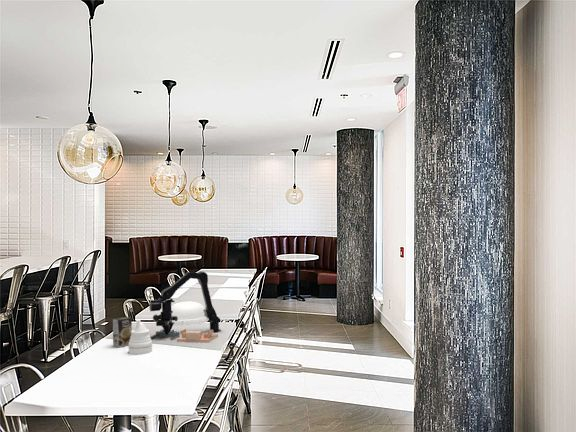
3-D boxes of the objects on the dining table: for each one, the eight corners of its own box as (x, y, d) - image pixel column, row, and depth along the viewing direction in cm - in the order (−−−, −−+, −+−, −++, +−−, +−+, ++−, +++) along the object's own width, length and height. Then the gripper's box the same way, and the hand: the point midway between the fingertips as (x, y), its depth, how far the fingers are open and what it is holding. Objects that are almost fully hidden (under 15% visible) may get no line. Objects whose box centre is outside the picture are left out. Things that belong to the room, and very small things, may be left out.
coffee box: (119, 347, 323) (118, 320, 323) (112, 346, 327) (112, 319, 327) (132, 344, 330) (131, 317, 330) (125, 343, 334) (125, 316, 334)
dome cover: (204, 325, 383) (203, 305, 383) (160, 326, 383) (160, 306, 383) (211, 317, 415) (210, 298, 415) (171, 318, 415) (170, 299, 415)
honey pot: (146, 354, 305) (145, 321, 305) (124, 354, 307) (123, 321, 307) (156, 349, 317) (155, 317, 317) (135, 348, 320) (134, 317, 320)
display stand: (187, 335, 351) (187, 327, 351) (217, 336, 346) (217, 327, 346) (177, 341, 335) (176, 332, 335) (208, 342, 331) (207, 333, 331)
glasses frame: (157, 335, 353) (157, 329, 353) (179, 336, 350) (179, 329, 350) (149, 339, 343) (149, 332, 343) (172, 340, 339) (172, 333, 339)
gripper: (161, 307, 361) (162, 331, 361) (147, 312, 343) (148, 337, 343) (177, 307, 358) (178, 331, 358) (164, 312, 340) (165, 338, 340)
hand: (167, 334), depth 350 cm, fingers closed on glasses frame, 2 cm apart
